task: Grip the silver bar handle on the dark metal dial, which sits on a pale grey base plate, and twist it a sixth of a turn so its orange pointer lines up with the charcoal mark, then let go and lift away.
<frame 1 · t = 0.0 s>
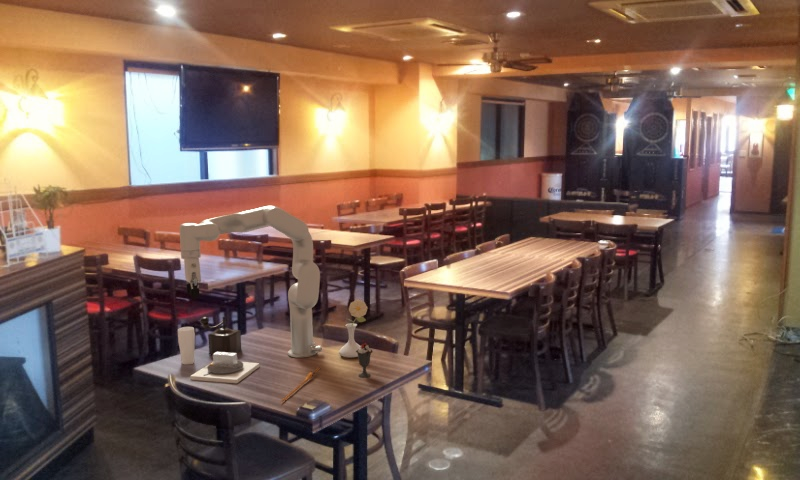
hand: (193, 295, 277), 31 cm above the table, tool pointing down, fingers open, 9 cm apart
drinking glass: (188, 363, 290), on the table
coffee grinder: (221, 354, 302), on the table
dial plate: (225, 372, 277), on the table
flower in vase: (353, 356, 297), on the table
sundae: (364, 375, 272), on the table
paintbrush: (301, 387, 261), on the table
dial: (225, 361, 277), point 5 cm above the table, hinge at 0.0°
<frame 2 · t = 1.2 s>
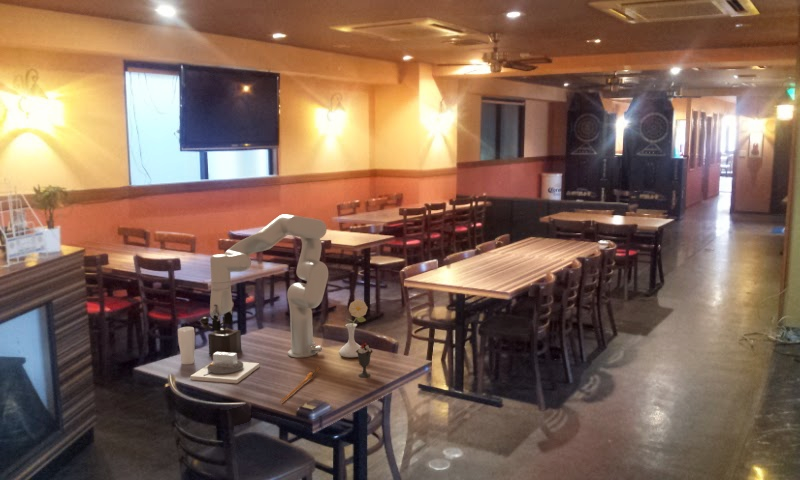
hand: (222, 327, 274), 19 cm above the table, tool pointing down, fingers open, 9 cm apart
nothing on the table moved.
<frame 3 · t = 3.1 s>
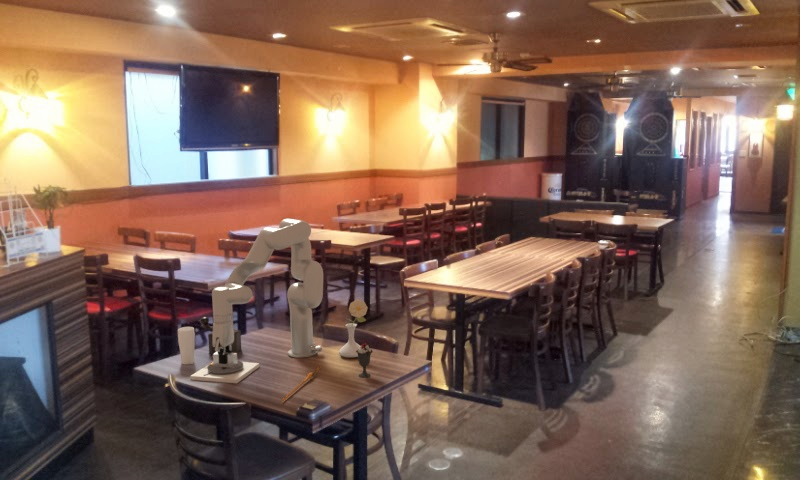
hand: (225, 361, 277), 5 cm above the table, tool pointing down, fingers closed on dial, 3 cm apart
dial: (225, 361, 277), point 5 cm above the table, hinge at 0.0°, touching gripper
everything else where it was.
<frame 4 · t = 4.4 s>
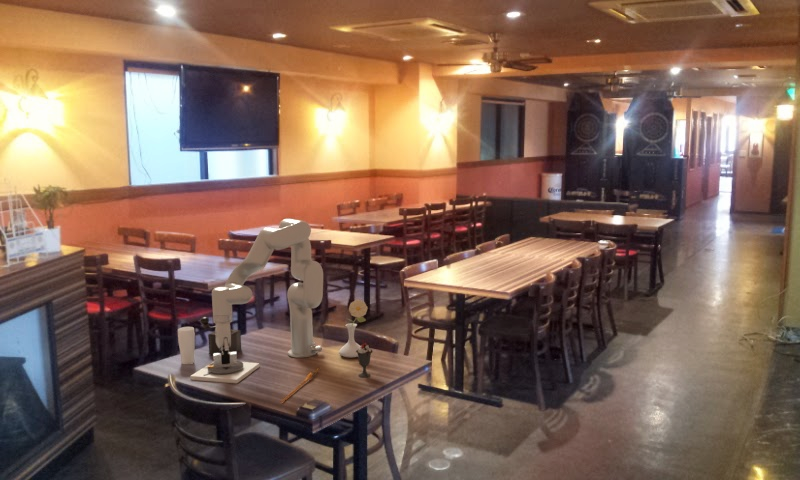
hand: (224, 361, 277), 5 cm above the table, tool pointing down, fingers closed on dial, 3 cm apart
dial: (225, 361, 277), point 5 cm above the table, hinge at 27.8°, touching gripper
everything else where it was.
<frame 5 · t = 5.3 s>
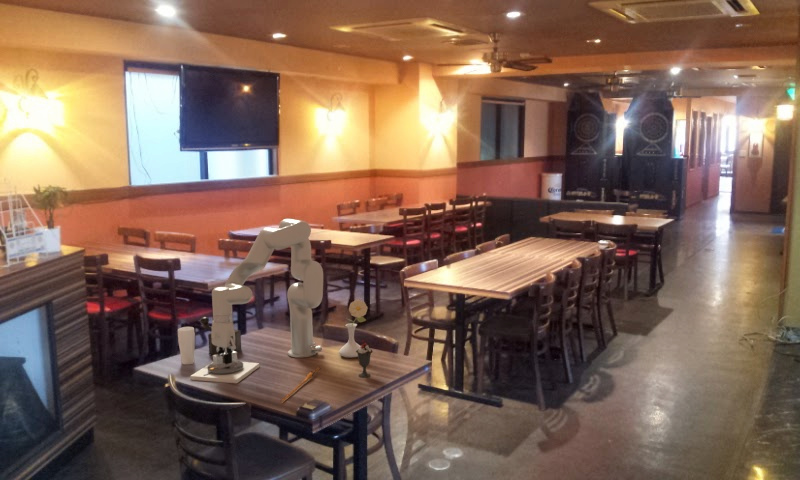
hand: (225, 361, 276), 5 cm above the table, tool pointing down, fingers closed on dial, 3 cm apart
dial: (225, 361, 277), point 5 cm above the table, hinge at 58.4°, touching gripper
everything else where it was.
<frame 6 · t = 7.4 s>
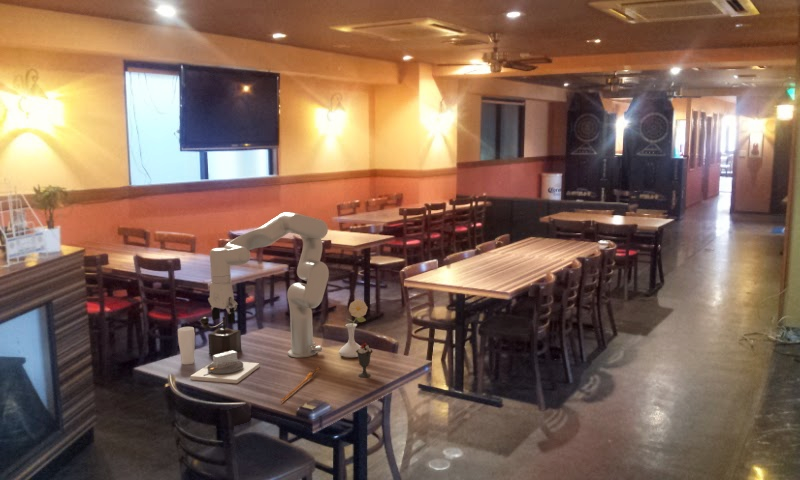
hand: (223, 320, 274), 22 cm above the table, tool pointing down, fingers open, 9 cm apart
dial: (225, 361, 277), point 5 cm above the table, hinge at 59.3°
everything else where it was.
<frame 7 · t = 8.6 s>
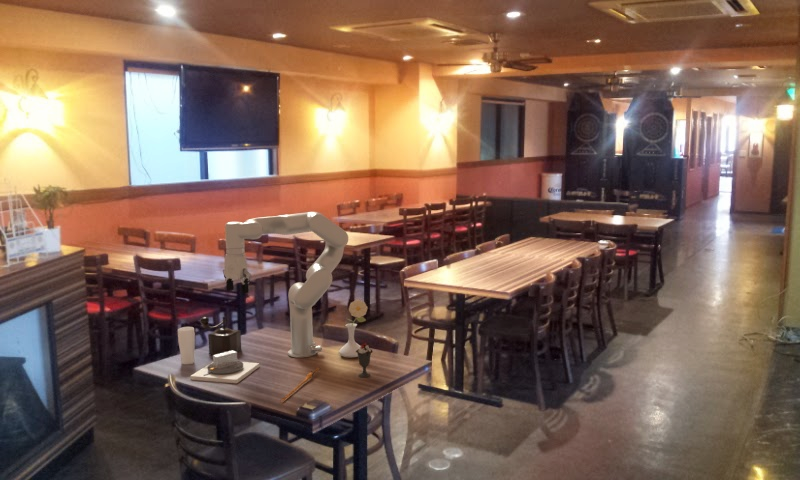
hand: (237, 291, 287), 30 cm above the table, tool pointing down, fingers open, 9 cm apart
nothing on the table moved.
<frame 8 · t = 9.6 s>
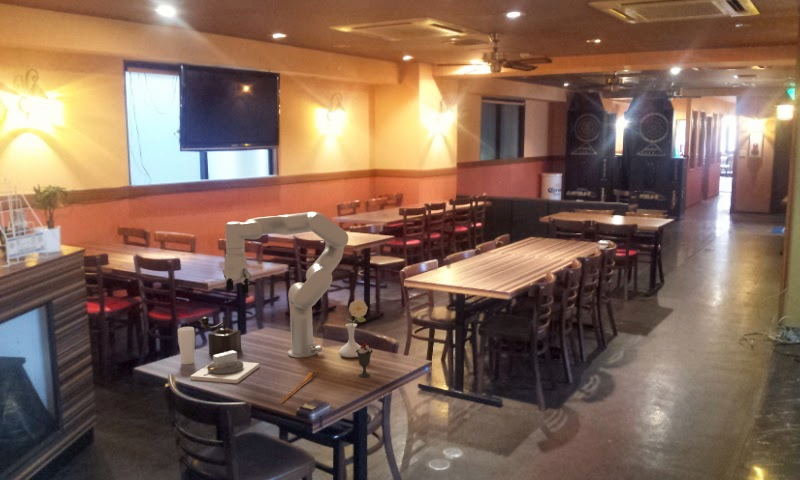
hand: (237, 291, 287), 30 cm above the table, tool pointing down, fingers open, 9 cm apart
nothing on the table moved.
at the end: dial at +59° (first picture: +0°); the gripper is holding nothing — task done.
